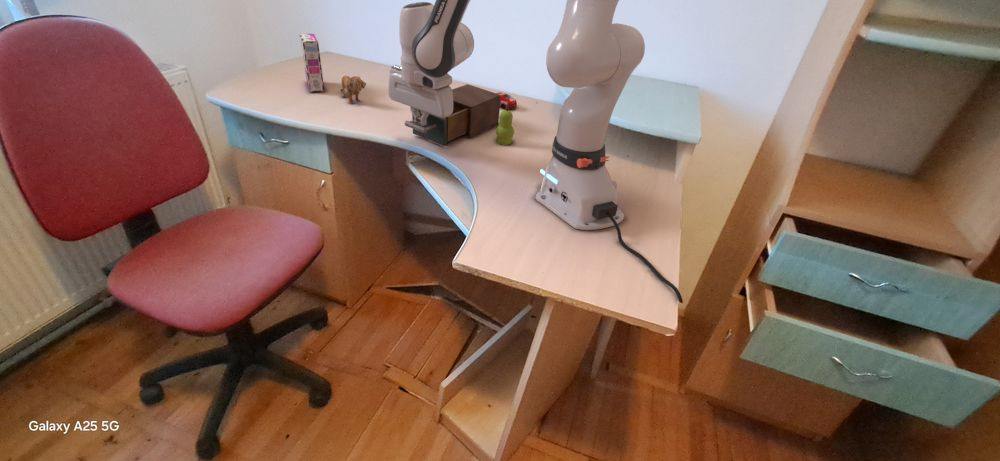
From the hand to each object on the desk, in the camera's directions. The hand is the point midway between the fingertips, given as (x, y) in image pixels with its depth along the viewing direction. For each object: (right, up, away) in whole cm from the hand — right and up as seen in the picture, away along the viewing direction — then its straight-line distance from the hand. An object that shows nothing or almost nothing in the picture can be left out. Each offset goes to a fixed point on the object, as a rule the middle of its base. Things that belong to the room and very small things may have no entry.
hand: (420, 123), depth 123 cm
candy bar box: (-43, +21, +35) cm, 59 cm away
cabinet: (+12, +4, +19) cm, 23 cm away
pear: (+23, -3, +11) cm, 26 cm away
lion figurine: (-28, +15, +28) cm, 42 cm away
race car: (+21, +15, +36) cm, 44 cm away
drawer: (+3, -1, +9) cm, 9 cm away
